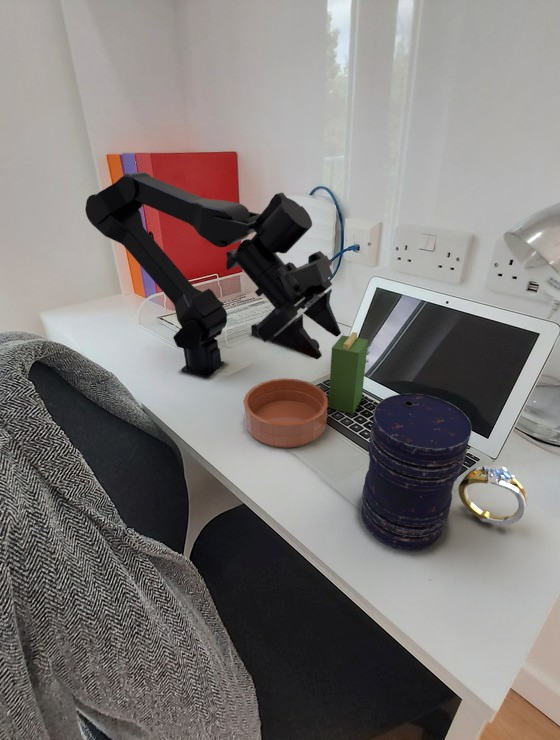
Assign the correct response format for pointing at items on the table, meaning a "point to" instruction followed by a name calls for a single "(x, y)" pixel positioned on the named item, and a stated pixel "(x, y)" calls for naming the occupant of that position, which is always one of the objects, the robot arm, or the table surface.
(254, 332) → the tablet stand
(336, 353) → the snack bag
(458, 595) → the table surface
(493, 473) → the ring
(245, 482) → the table surface
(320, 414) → the bowl
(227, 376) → the table surface
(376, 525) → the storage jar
